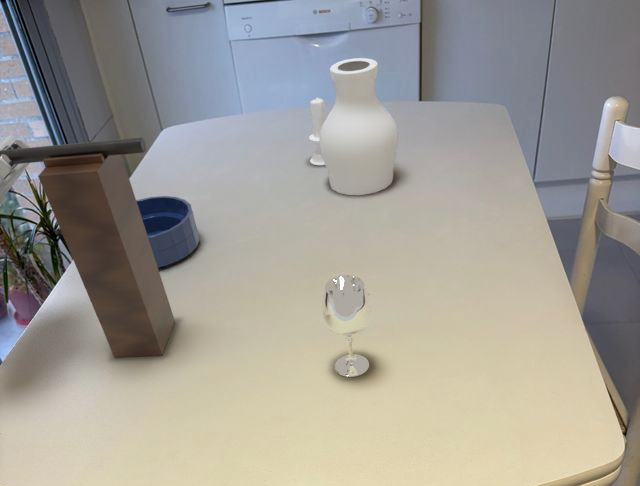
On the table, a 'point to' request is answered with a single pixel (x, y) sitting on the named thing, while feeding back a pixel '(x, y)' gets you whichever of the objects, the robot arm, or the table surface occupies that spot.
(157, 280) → the stand
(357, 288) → the wineglass
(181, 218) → the bowl
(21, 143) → the robot arm
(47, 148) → the chopstick
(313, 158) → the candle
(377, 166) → the vase
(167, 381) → the table surface
